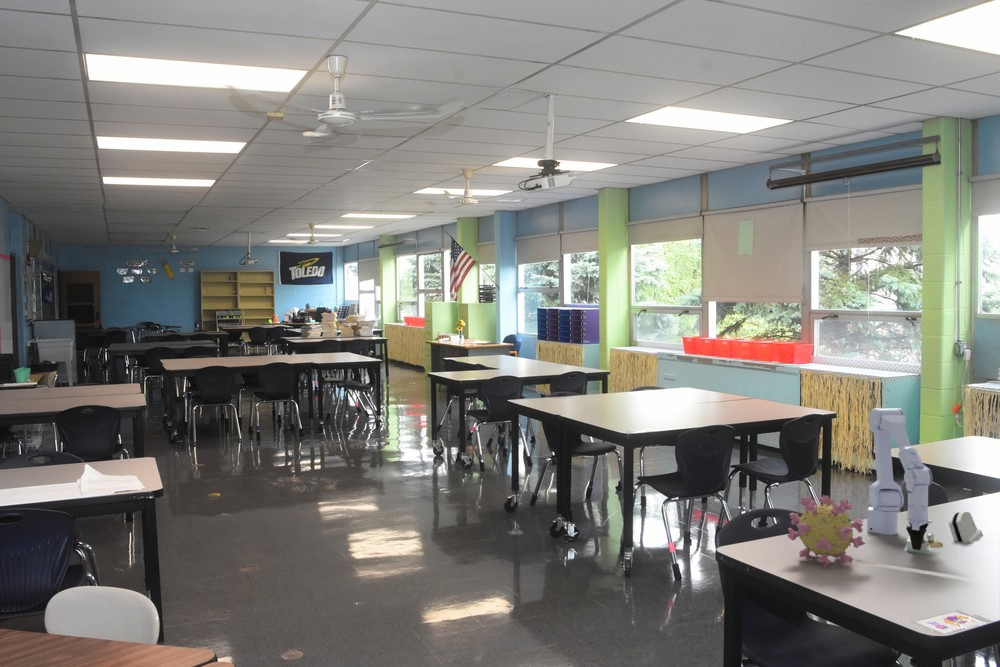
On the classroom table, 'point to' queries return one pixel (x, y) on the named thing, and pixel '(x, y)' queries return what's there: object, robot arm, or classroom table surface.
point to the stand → (917, 552)
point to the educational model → (825, 530)
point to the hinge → (964, 528)
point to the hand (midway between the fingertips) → (917, 546)
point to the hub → (933, 541)
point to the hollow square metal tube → (923, 547)
